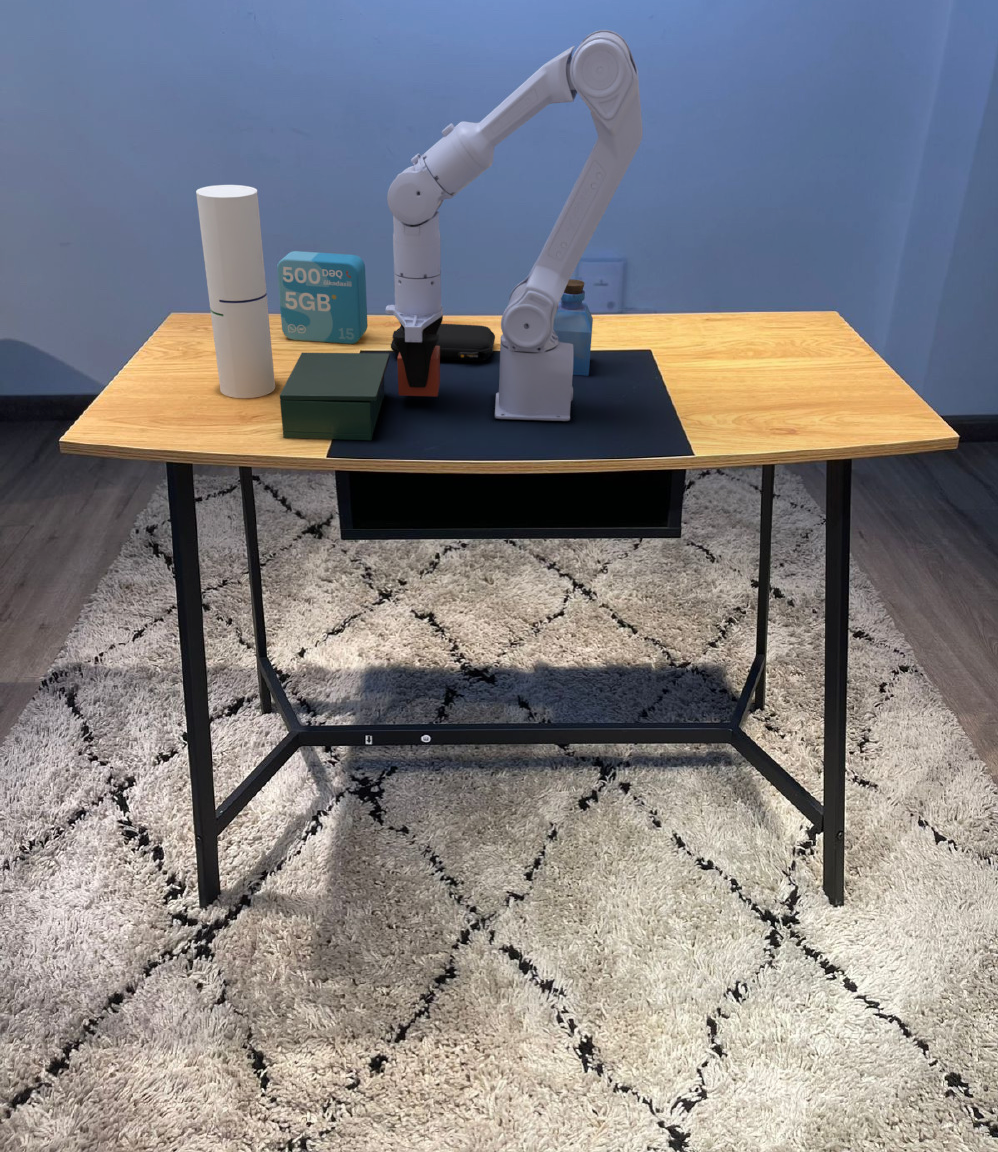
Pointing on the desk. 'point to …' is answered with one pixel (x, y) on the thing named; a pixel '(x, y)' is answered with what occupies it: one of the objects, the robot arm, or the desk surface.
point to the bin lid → (336, 377)
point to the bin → (331, 418)
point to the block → (432, 381)
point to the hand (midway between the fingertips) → (419, 378)
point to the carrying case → (462, 342)
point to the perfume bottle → (575, 325)
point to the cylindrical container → (237, 289)
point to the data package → (322, 297)
